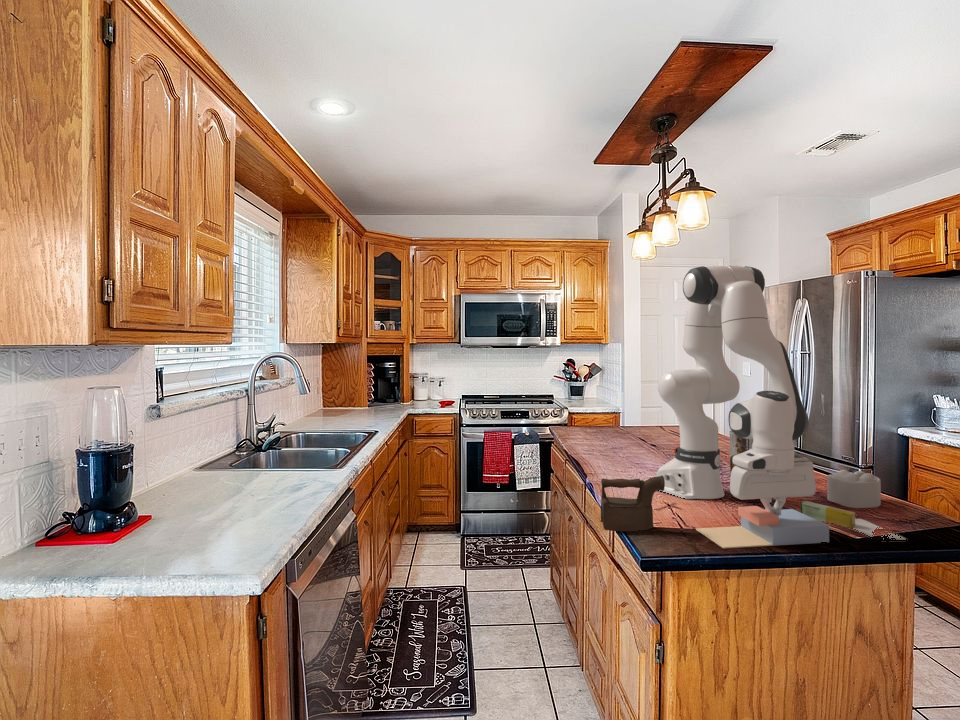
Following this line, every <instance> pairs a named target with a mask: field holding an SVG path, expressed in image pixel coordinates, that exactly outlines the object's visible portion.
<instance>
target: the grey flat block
mask: <svg viewBox="0 0 960 720" xmlns="http://www.w3.org/2000/svg"><path fill="white" fill-rule="evenodd" d="M740 526H742V527H743V528H745V529H747V530H749V531H750V532H752V533H754V534H756V535H757V536H759V537H761V538H763V539H764V540H766V541H768V542H770V543H771V544H773V546H789V545H793V546H794V545H808V544H809V545H810V544H822V543H821V542H827V543H830V525H829V524H826V522H823V521H819V520H816V519H814V518H811V517H809V516H807V515H805V514H802V513H801V511H798V510H796V509H793V508H789V509H788V508H787V509H783V508H782V509H781V515H779V525H769V526H758V525H756V524H754V523H752V522H750V521H749V520H747V519H745V518H743V517H741V516H740ZM773 546H772V547H773Z"/></svg>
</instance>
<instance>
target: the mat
mask: <svg viewBox="0 0 960 720" xmlns="http://www.w3.org/2000/svg"><path fill="white" fill-rule="evenodd" d="M695 530H696V531H697V532H699V534H700V533H701V534H702V536H705V537H706V538H707V539H709V540H710V541H712V542H714V544H716V545H717V546H718V547H720V548H722V549H739V548H740V549H741V548H755V547H756V548H757V547H758V548H759V547H770V546H772V547H773V544H771V543H770V542H768V541H766V540H764V539H763V538H761V537H759V536H757V535H756V534H754V533H752V532H750V531H749V530H747V529H745V528H743V527H742V526H741V525H737V526H735V525H734V526H722V527H721V526H720V527H719V526H717V527H716V526H715V527H703V528H702V527H699V528H697V527H696V528H695Z"/></svg>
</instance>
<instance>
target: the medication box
mask: <svg viewBox="0 0 960 720" xmlns="http://www.w3.org/2000/svg"><path fill="white" fill-rule="evenodd" d="M800 513H802V514H805V515H807V516H809V517H811V518H814V519H816V520H818V521H820V522H823V521H824V522H823V523H827V522H828V524H831V523H834V524H833V525H835V524H838V525H837V526H839V525H842V526H841V527H843V526H846V527H845V528H847V527H850V528H849V529H851V528H852V527H854V526H855V518H856V512H855V511H851V510H846V509H842V508H839V507H838V508H837V507H834V506H830V505H826V504H825V505H824V504H820V503H816V502H813V501H808V500H802V501H801V502H800Z"/></svg>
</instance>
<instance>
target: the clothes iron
mask: <svg viewBox="0 0 960 720" xmlns="http://www.w3.org/2000/svg"><path fill="white" fill-rule="evenodd" d="M600 483H601V498H600V499H601V505H600V523H602V527H603V530H605V531H613V532H638V531H639V530H640V531H646V530H651V529H653V527H654V513H653V512H654V511H653V506H652V504H653V497H654V494H655V493H656V492H659V491H658V490H661V491H664V487H665V480H664V477H663V476H657V477H656V476H654V477H649V478H647V479H646V480H643V479H640V478H634V479H626V478H613V479H610V478H609V479H608V478H601V480H600ZM605 488H618V489H625V488H635V489H639V490H638V493H637V497H636V498H629V497H628V498H627V497H626V498H625V497H614V496H612V497H611V496H607V495H606V491H605ZM640 531H639V532H640Z"/></svg>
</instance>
